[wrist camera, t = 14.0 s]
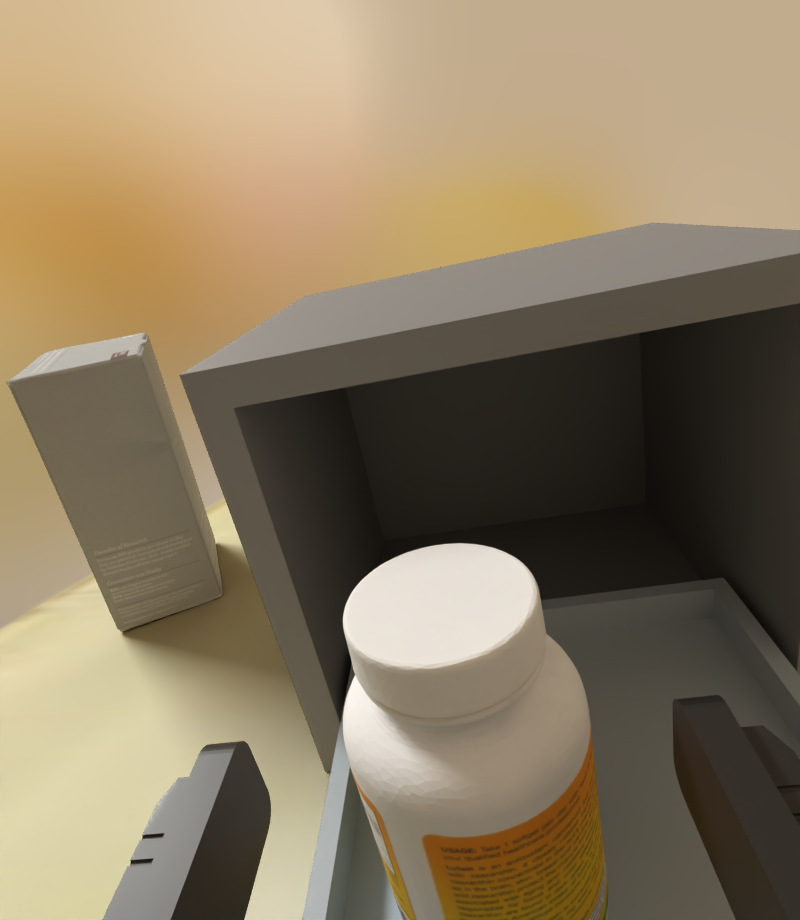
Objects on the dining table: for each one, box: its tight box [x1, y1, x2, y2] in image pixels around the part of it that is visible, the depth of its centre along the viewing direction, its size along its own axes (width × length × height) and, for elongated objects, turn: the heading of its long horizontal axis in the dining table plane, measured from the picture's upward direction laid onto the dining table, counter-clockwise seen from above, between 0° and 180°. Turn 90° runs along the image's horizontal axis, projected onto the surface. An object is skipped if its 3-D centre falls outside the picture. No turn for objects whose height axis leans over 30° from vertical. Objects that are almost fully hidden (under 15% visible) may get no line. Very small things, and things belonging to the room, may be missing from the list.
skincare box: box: [7, 333, 223, 632], centre depth 34 cm, size 8×7×16 cm
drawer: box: [302, 578, 800, 920], centre depth 14 cm, size 15×16×11 cm
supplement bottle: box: [343, 543, 608, 920], centre depth 13 cm, size 5×5×10 cm
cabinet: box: [180, 223, 800, 772], centre depth 25 cm, size 18×16×16 cm
